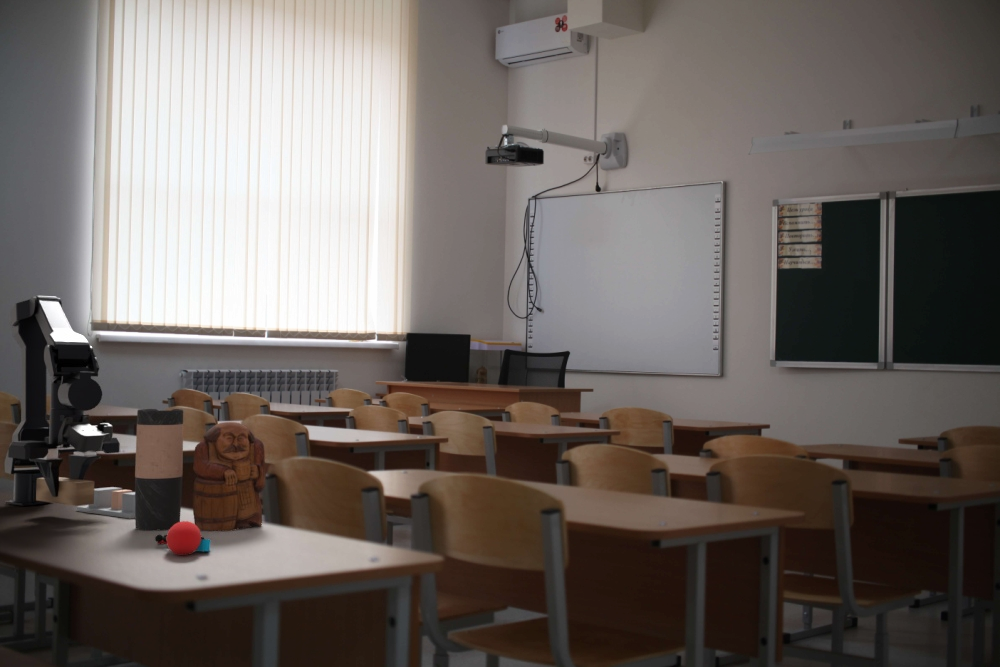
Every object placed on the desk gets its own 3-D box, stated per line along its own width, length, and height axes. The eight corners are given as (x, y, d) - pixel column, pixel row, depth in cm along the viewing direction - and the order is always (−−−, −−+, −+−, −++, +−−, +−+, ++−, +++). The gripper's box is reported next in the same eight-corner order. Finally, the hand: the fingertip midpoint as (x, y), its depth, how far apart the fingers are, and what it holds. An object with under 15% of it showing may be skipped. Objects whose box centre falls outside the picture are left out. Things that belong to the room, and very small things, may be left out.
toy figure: (152, 554, 153) (158, 554, 139) (155, 522, 154) (162, 519, 140) (202, 556, 155) (213, 556, 142) (205, 524, 156) (216, 521, 143)
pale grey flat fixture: (76, 510, 186) (77, 489, 186) (117, 505, 194) (118, 485, 194) (130, 518, 177) (131, 496, 178) (171, 512, 185) (172, 491, 185)
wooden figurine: (207, 533, 162) (210, 423, 163) (188, 529, 166) (191, 422, 167) (270, 526, 170) (272, 421, 171) (250, 522, 175) (252, 420, 176)
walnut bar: (36, 500, 179) (36, 478, 179) (53, 498, 182) (54, 476, 182) (76, 505, 173) (76, 482, 173) (93, 503, 176) (94, 481, 176)
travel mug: (150, 532, 163) (153, 410, 163) (124, 527, 167) (127, 409, 168) (190, 527, 169) (193, 409, 170) (164, 522, 173) (166, 408, 174)
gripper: (45, 411, 166) (42, 505, 165) (139, 408, 181) (137, 494, 181) (7, 409, 172) (5, 499, 171) (102, 407, 188) (100, 489, 187)
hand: (64, 495), depth 177 cm, fingers closed on walnut bar, 3 cm apart
